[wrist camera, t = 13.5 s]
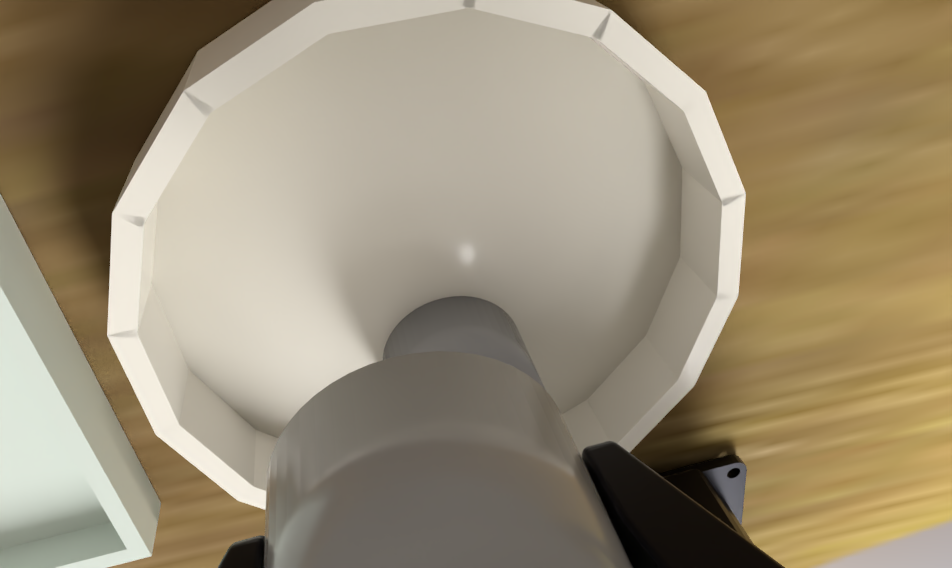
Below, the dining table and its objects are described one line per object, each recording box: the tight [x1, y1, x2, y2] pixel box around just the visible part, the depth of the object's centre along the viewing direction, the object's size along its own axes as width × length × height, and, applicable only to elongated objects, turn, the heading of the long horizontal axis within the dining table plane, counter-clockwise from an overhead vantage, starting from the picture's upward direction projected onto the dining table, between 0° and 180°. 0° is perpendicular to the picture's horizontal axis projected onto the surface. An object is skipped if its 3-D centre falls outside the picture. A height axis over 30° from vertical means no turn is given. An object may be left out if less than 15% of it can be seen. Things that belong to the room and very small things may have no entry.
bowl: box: [107, 0, 746, 510], centre depth 19 cm, size 15×15×3 cm
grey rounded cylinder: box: [383, 296, 546, 390], centre depth 20 cm, size 4×4×4 cm
